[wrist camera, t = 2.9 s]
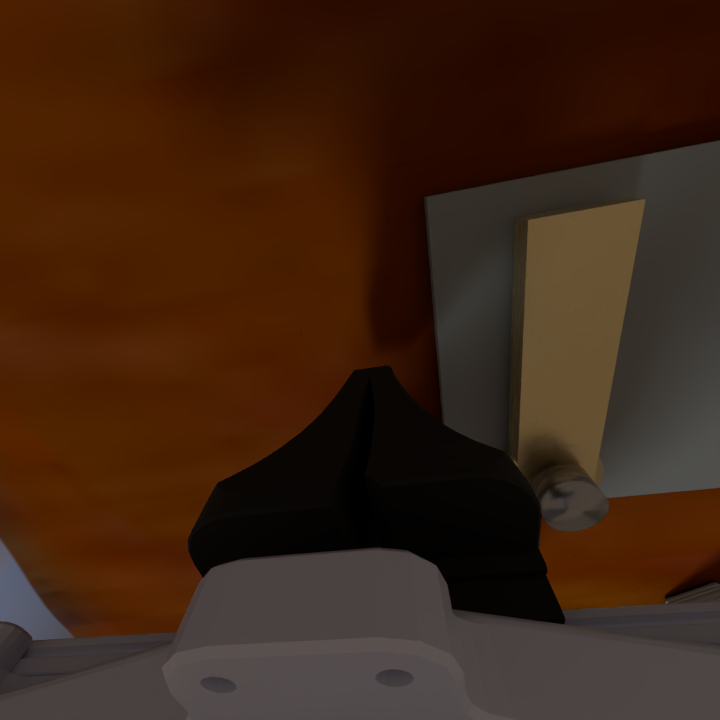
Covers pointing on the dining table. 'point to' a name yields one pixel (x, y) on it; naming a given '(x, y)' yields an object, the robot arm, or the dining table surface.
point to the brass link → (567, 330)
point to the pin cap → (569, 498)
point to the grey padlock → (697, 595)
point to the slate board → (641, 321)
